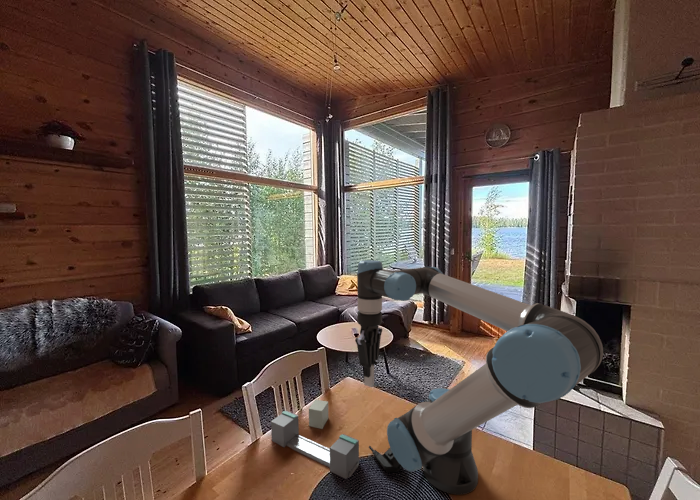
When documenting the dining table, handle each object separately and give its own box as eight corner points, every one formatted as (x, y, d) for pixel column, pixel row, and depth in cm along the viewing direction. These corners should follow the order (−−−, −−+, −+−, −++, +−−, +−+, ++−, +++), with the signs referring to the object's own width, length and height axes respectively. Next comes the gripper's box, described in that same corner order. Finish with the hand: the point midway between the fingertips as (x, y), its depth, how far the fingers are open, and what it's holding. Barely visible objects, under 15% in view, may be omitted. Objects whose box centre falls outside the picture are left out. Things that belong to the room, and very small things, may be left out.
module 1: (298, 435, 103) (298, 414, 102) (283, 448, 97) (283, 425, 96) (286, 429, 106) (286, 409, 105) (271, 441, 100) (271, 420, 99)
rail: (358, 465, 89) (358, 461, 89) (349, 477, 85) (349, 473, 85) (283, 431, 105) (283, 427, 105) (272, 439, 101) (272, 435, 101)
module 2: (328, 420, 111) (328, 401, 111) (322, 430, 105) (321, 411, 105) (315, 417, 112) (315, 399, 112) (309, 427, 107) (308, 408, 106)
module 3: (358, 462, 90) (358, 438, 90) (346, 479, 84) (345, 453, 84) (343, 455, 93) (343, 432, 93) (330, 471, 87) (329, 446, 87)
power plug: (364, 442, 94) (387, 468, 83) (382, 424, 97) (406, 447, 86) (371, 455, 95) (394, 482, 85) (388, 437, 98) (413, 461, 88)
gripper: (369, 304, 101) (369, 373, 102) (347, 313, 90) (347, 390, 92) (390, 308, 97) (389, 379, 98) (369, 318, 86) (369, 398, 88)
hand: (369, 385), depth 95 cm, fingers closed
